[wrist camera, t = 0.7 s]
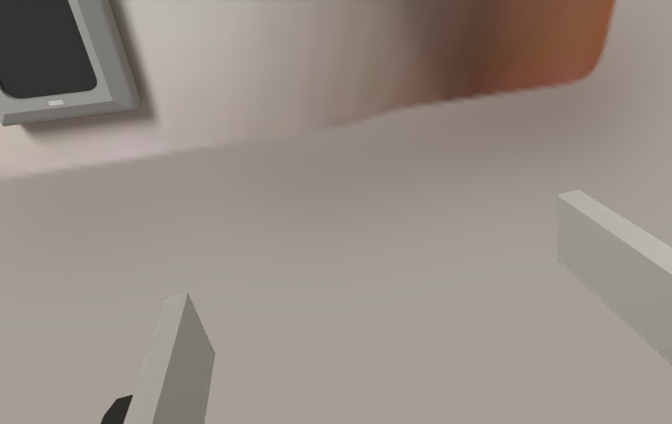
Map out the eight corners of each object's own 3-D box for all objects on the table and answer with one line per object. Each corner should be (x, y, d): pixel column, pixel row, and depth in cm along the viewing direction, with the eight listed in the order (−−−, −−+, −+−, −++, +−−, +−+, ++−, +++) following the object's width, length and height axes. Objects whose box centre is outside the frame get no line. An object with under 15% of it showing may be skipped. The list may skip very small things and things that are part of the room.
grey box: (52, -136, 25) (135, 117, 34) (68, -136, 28) (141, 98, 37) (-145, -125, 24) (-4, 135, 33) (-107, -126, 27) (13, 114, 36)
